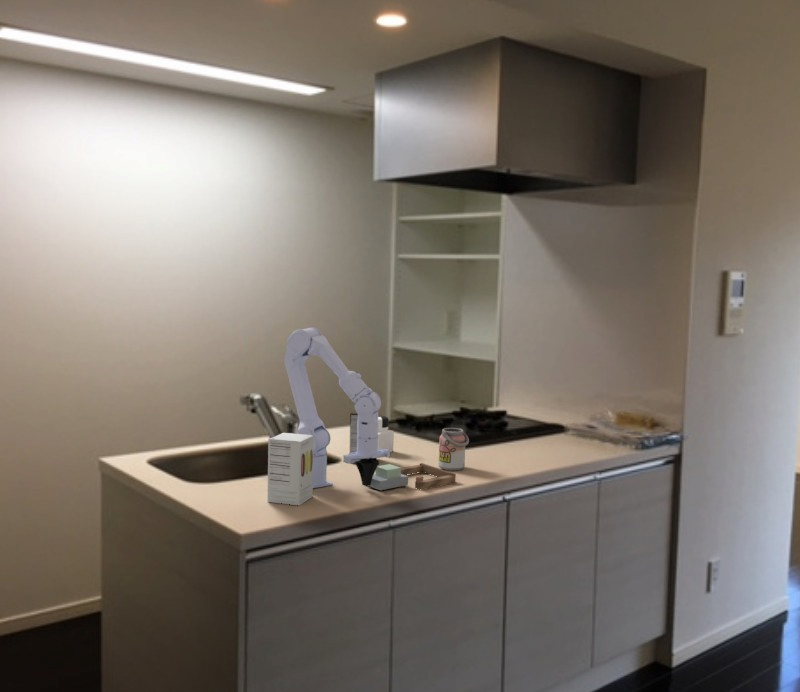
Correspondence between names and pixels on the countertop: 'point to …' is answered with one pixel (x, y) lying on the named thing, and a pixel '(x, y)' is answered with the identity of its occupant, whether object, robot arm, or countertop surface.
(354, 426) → the coffee box
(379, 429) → the medicine bottle
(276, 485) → the supplement box
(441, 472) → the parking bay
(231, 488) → the countertop surface
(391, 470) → the stacked grey base
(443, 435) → the soda can pail
